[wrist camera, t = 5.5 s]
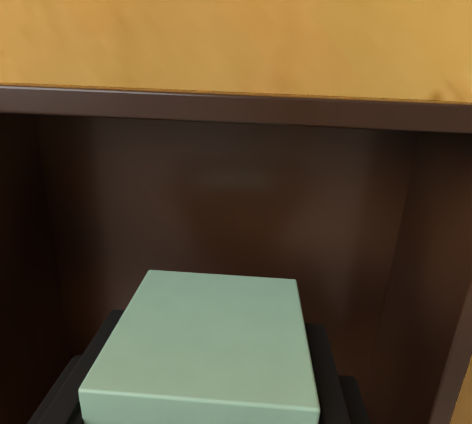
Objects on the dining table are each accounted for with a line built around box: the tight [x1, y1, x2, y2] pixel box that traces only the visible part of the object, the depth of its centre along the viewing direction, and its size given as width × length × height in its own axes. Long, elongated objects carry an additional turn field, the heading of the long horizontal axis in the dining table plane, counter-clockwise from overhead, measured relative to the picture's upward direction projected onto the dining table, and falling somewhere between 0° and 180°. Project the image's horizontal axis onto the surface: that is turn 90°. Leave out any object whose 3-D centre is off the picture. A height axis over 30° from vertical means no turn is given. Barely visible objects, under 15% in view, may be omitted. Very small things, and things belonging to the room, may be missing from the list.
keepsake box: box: [0, 83, 472, 424], centre depth 14 cm, size 15×16×6 cm
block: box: [78, 270, 320, 424], centre depth 9 cm, size 4×4×4 cm
